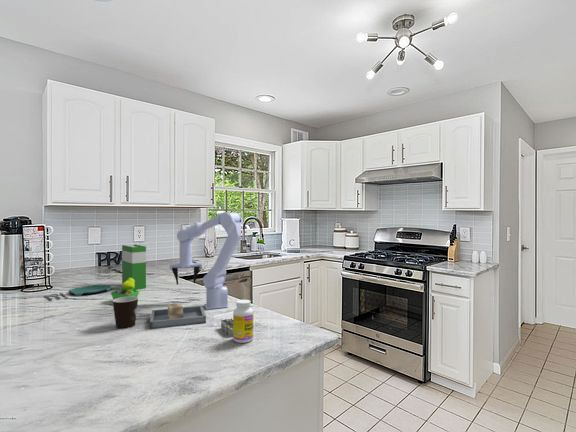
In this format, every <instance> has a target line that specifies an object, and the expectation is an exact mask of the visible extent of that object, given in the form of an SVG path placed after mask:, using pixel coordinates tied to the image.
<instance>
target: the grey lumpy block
mask: <svg viewBox="0 0 576 432" xmlns="http://www.w3.org/2000/svg"><path fill="white" fill-rule="evenodd" d="M219 321H220V330H221V331H224V333H225V334H228V336H229V337H231V336H232V337H233V317H232V318H224V319H222V318H221V319H219Z"/></svg>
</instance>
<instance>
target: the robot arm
mask: <svg viewBox="0 0 576 432" xmlns="http://www.w3.org/2000/svg"><path fill="white" fill-rule="evenodd" d="M243 222H244V220H243V218H242V216H241V214H240V213H239V212H237V211H236V212H227V211H225V212H222V213H219V214H216V215H215V216H214V217H212V218H210V219H208V220H206V221H205V222H203V223H202V222H198V221H197V222H194V223H193V225H190V226H187V227H186V228H185V229H183V228H181V229H180V230H178V231H177V233H176V238H177V241H179V263H173V264H169V270H172V271H171V272H172V273H173V276H174V279H175V282H176V285H179V269H193V284H196V281H197V277H198V274H199V272H200V270H201V268H203V263H202V262H193V243H194V239H196V238H198V237H200V236H202V235H204V234H206V231H207V230H209V229H211V228H213V227H215V226H218V225H221V227H222V228H223V229H224V230H225V232H226V234H227V237H226V238H225V240H224V243H223V245H222V248H221V250H220V251H219V253H218V256H217V258H216V259H215V262H214V265H213V266H212V267H211V268H210V269H209V270H208V272H207V273H206V274H205V275H204V276H203V277H202V282H203V285H204V286H205V291H206V292H205V293H206V294H205V295H206V297H205V298H206V299H205V301H206V303H204V306H205V309H206V310H213V309H223V308H228V307H229V306H228V305H229V303H228V301H229V299H228V298H229V297H228V294H229V291H228V287H227V286H223V285H224V283H225V281H226V274H227V270H226V269H227V267H228V264H229V262H230V261H231V258H232V256H233V254H234V252H235V250H236V248H237V246H238V244H239V241H240V239H241V237H242V224H243Z"/></svg>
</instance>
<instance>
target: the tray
mask: <svg viewBox="0 0 576 432" xmlns="http://www.w3.org/2000/svg"><path fill="white" fill-rule="evenodd" d="M206 323H207V316H206V313H205V309H204V307H203V305H195V306H193V305H192V306H183V318H177V319H168V308H162V309H152V310H151V314H150V319H149V329H150V330H153V329H160V328H161V329H162V328H171V327H181V326H188V325H190V326H191V325H198V324H206Z"/></svg>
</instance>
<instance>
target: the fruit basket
mask: <svg viewBox="0 0 576 432" xmlns="http://www.w3.org/2000/svg"><path fill="white" fill-rule="evenodd" d="M134 283H135V281H134V279H133V278H128V279H127V280H126V281H125V282H124V283H123V284H121V285H122V288H123V289H122V288H119V289H117V290H114V291H111V292H110V295H111V296H112V301H113V300H114V299H116V298H121V297H138V296H139V294H140V290H133V289H134V287H135V284H134ZM138 298H139V297H138Z"/></svg>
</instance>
